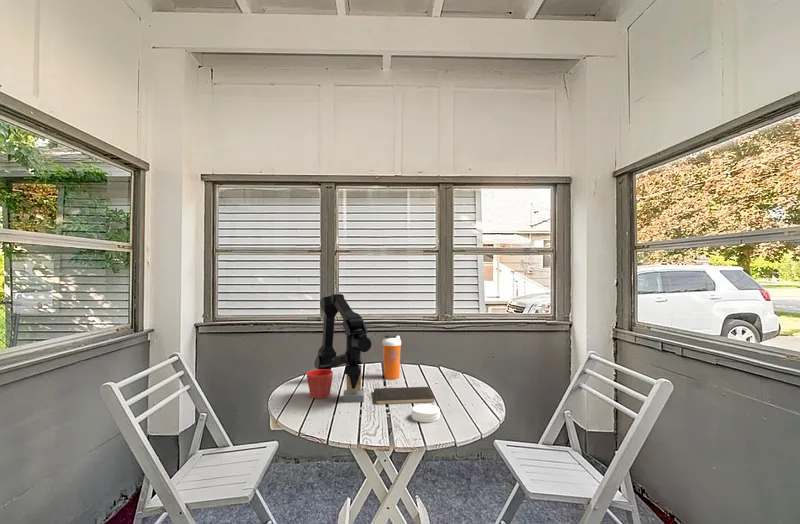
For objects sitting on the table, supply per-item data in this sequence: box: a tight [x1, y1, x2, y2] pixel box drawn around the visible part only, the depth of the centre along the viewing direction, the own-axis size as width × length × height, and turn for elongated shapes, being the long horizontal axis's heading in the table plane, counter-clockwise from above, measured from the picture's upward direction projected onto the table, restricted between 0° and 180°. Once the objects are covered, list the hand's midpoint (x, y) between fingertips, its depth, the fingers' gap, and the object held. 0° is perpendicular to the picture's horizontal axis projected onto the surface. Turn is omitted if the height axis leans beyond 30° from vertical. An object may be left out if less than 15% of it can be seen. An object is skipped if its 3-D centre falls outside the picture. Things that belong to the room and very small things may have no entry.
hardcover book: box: [373, 386, 436, 405], centre depth 182 cm, size 16×23×2 cm
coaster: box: [411, 403, 441, 423], centre depth 159 cm, size 10×10×4 cm
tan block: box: [346, 373, 362, 391], centre depth 180 cm, size 6×6×6 cm
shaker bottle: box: [381, 333, 402, 380], centre depth 212 cm, size 9×9×20 cm
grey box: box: [342, 389, 365, 403], centre depth 180 cm, size 8×8×2 cm
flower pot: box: [306, 369, 334, 400], centre depth 184 cm, size 11×11×10 cm
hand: (353, 386), depth 180 cm, fingers closed on tan block, 5 cm apart
